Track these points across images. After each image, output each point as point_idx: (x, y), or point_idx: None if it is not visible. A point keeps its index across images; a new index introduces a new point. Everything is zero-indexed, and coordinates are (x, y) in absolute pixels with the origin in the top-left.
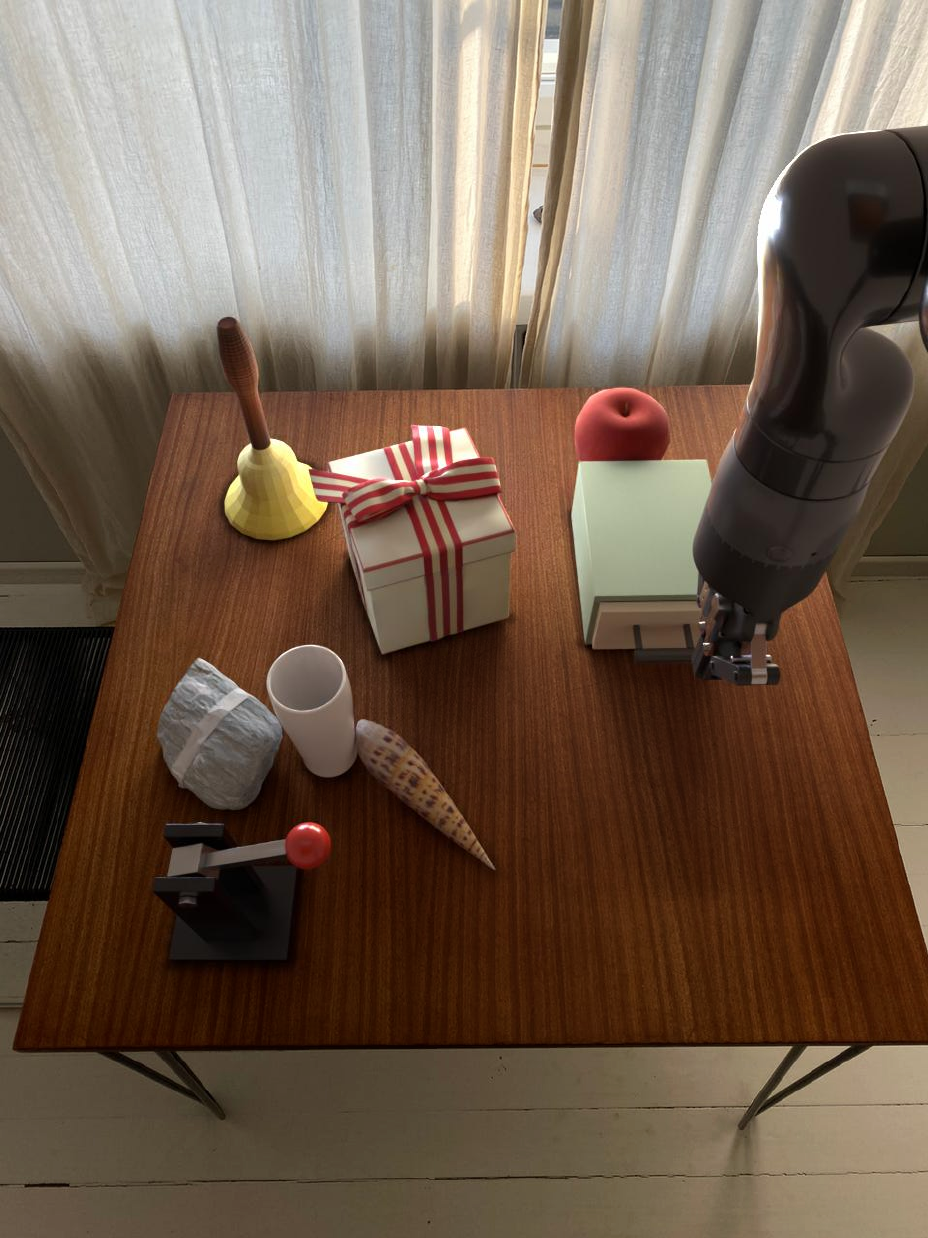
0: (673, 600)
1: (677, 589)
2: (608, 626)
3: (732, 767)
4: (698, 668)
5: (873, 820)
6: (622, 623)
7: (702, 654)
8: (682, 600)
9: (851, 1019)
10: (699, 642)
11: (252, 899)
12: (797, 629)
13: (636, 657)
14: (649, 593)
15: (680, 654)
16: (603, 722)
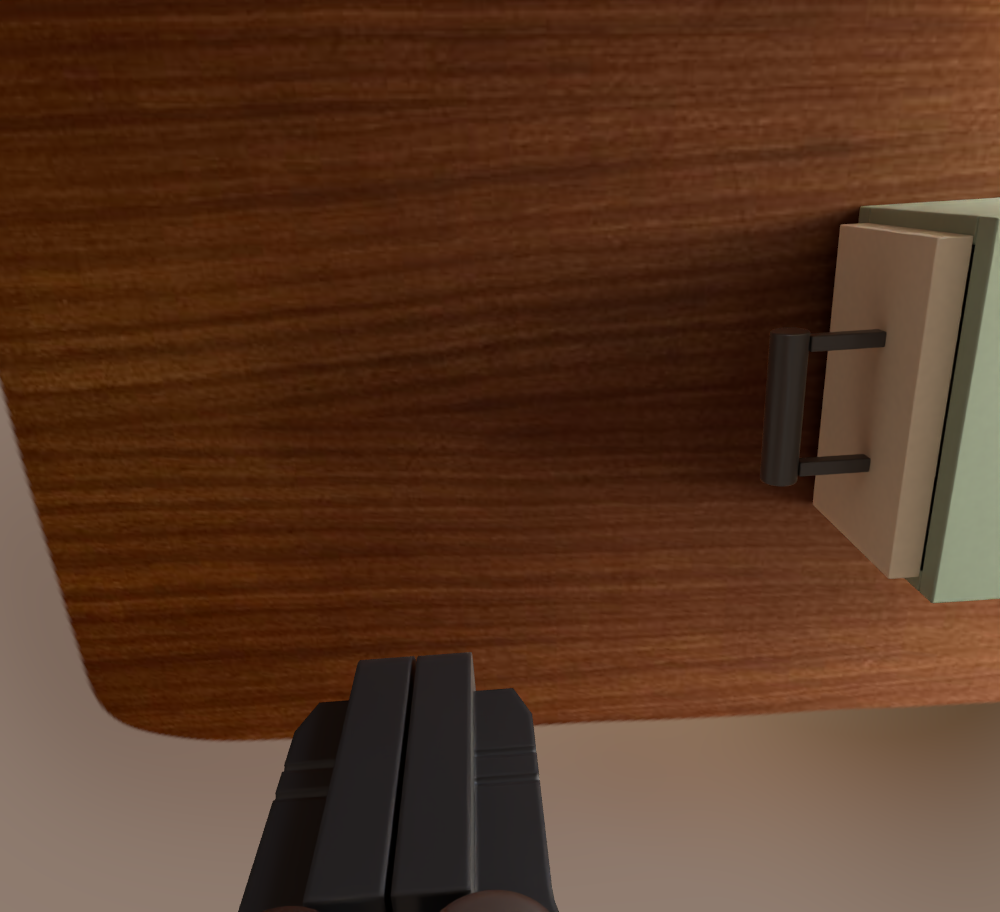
0: None
1: (975, 461)
2: (892, 263)
3: (535, 509)
4: (345, 724)
5: None
6: (894, 302)
7: (330, 841)
8: None
9: (96, 641)
10: (444, 820)
11: None
12: (838, 657)
13: (784, 333)
14: (976, 384)
15: (781, 444)
16: (642, 245)
